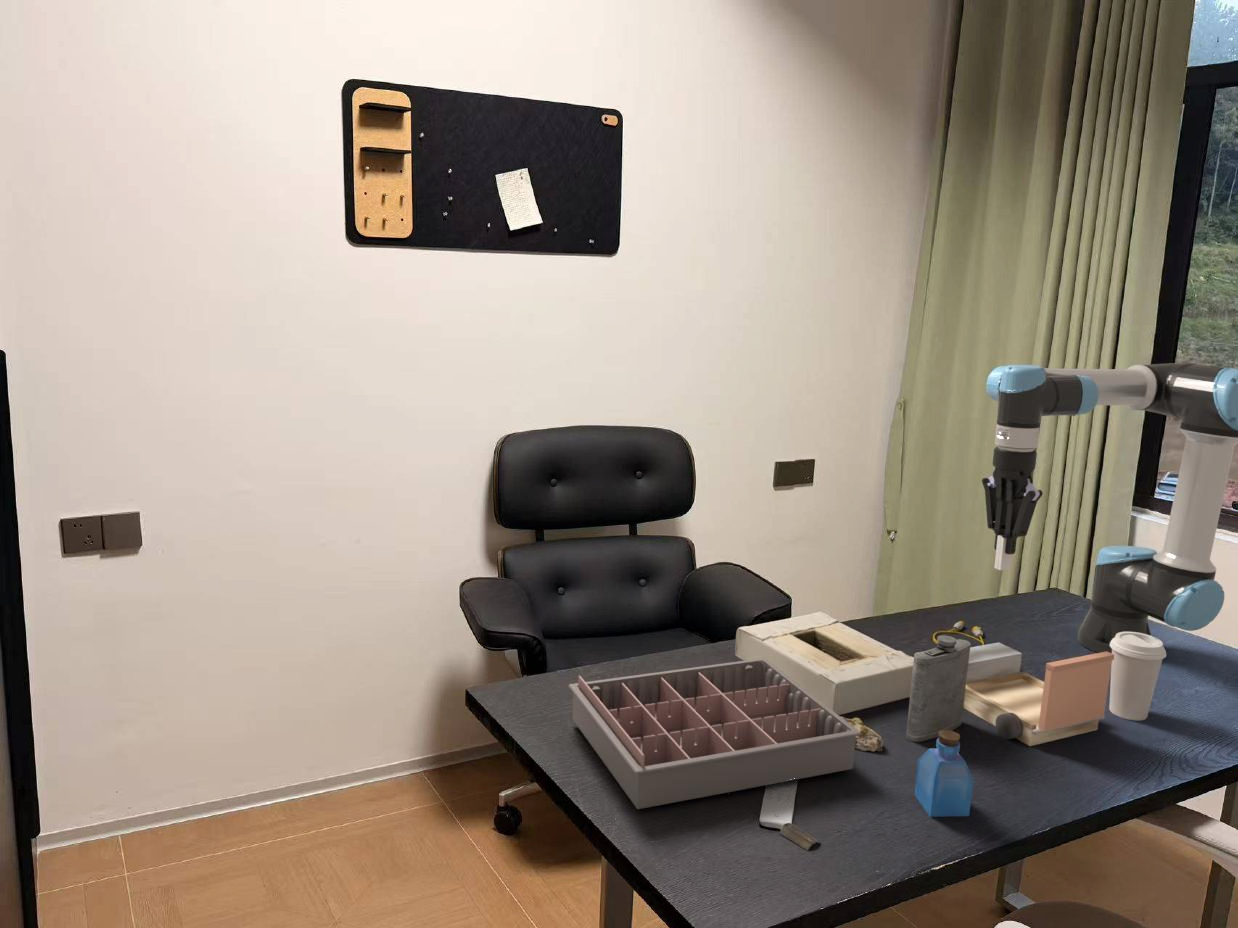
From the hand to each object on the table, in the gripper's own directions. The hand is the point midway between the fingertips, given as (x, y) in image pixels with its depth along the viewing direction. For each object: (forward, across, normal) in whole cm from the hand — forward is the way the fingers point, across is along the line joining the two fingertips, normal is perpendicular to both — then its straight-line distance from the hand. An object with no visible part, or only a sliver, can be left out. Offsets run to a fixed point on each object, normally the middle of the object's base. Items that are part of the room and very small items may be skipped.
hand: (1002, 568), depth 187 cm
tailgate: (+23, +19, 0) cm, 30 cm away
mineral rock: (+27, +6, -36) cm, 45 cm away
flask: (+27, +8, -20) cm, 34 cm away
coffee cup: (+27, +15, +20) cm, 37 cm away
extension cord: (+27, -25, +16) cm, 40 cm away
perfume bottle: (+27, +28, -37) cm, 54 cm away
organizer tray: (+26, 0, -63) cm, 68 cm away
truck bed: (+26, +6, 0) cm, 27 cm away
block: (+27, +28, -63) cm, 74 cm away
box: (+27, -20, -25) cm, 41 cm away
